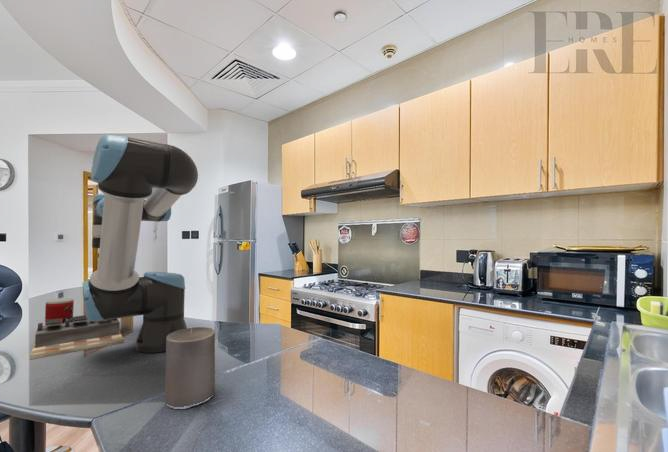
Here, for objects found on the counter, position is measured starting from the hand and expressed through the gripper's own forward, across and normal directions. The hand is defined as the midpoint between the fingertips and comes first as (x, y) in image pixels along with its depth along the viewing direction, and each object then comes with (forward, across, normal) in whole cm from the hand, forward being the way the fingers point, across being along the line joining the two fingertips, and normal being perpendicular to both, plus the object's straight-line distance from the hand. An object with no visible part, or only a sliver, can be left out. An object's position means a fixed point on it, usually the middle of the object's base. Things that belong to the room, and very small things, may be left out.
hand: (103, 302), depth 112 cm
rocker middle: (+4, -4, +6) cm, 8 cm away
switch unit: (+11, -7, +6) cm, 15 cm away
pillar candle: (+11, -68, -10) cm, 70 cm away
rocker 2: (+4, -4, 0) cm, 5 cm away
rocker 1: (+4, -4, +13) cm, 14 cm away
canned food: (+11, +17, +12) cm, 24 cm away
